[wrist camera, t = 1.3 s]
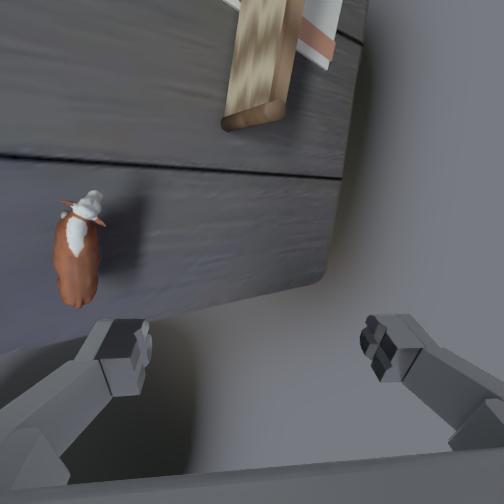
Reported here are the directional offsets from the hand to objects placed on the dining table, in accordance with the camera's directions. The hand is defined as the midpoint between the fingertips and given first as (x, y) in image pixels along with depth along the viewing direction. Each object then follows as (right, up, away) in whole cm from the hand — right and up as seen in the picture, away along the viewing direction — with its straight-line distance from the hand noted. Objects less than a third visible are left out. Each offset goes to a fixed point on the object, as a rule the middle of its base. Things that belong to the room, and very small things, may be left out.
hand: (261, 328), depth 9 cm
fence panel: (-3, +29, +26) cm, 39 cm away
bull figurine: (-22, +5, +23) cm, 32 cm away
